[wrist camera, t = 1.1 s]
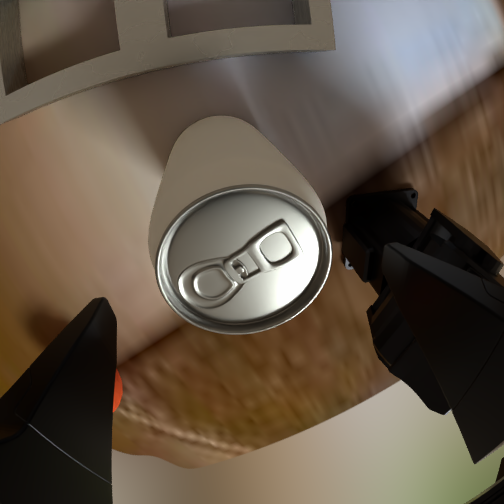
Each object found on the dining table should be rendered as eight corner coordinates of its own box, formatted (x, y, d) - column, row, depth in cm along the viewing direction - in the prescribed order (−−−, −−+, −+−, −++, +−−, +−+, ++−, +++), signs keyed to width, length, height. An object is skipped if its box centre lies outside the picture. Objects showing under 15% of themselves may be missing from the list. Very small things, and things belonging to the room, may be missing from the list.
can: (150, 151, 19) (97, 251, 8) (237, 95, 18) (292, 125, 8) (205, 225, 22) (218, 364, 12) (286, 177, 21) (367, 286, 11)
